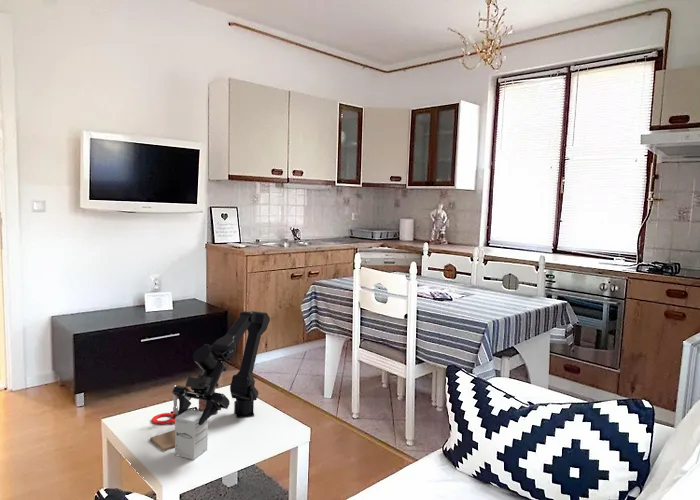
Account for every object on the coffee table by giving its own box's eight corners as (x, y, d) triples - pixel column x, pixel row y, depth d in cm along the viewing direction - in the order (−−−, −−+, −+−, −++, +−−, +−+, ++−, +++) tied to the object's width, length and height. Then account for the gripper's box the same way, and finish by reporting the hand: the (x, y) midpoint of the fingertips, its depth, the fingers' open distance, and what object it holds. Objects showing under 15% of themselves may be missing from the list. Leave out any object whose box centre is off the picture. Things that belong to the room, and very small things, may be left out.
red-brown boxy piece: (219, 412, 188) (220, 386, 187) (214, 415, 185) (214, 389, 184) (201, 408, 191) (201, 383, 190) (196, 411, 188) (196, 386, 187)
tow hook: (147, 425, 176) (173, 425, 176) (146, 390, 175) (172, 390, 175) (158, 415, 185) (182, 415, 184) (156, 381, 184) (181, 382, 183)
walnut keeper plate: (178, 430, 172) (178, 428, 172) (192, 441, 165) (192, 438, 165) (149, 440, 165) (149, 437, 165) (164, 451, 158) (164, 449, 158)
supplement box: (174, 455, 155) (174, 417, 154) (189, 445, 162) (189, 408, 161) (193, 460, 153) (193, 421, 152) (208, 450, 160) (208, 412, 159)
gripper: (175, 361, 162) (151, 406, 152) (225, 369, 156) (203, 417, 146) (190, 377, 170) (169, 421, 161) (238, 385, 164) (218, 431, 155)
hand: (189, 422), depth 155 cm, fingers closed on supplement box, 7 cm apart
